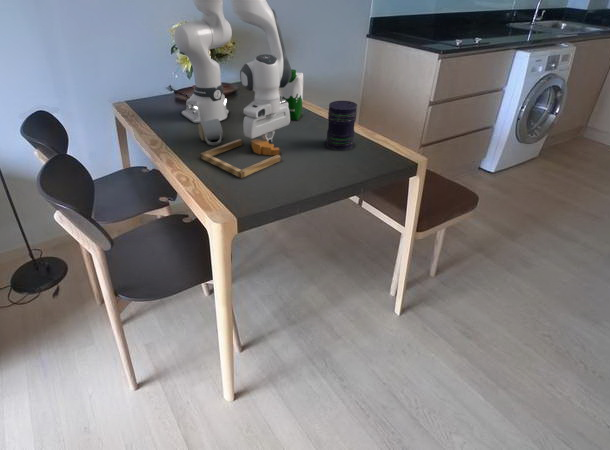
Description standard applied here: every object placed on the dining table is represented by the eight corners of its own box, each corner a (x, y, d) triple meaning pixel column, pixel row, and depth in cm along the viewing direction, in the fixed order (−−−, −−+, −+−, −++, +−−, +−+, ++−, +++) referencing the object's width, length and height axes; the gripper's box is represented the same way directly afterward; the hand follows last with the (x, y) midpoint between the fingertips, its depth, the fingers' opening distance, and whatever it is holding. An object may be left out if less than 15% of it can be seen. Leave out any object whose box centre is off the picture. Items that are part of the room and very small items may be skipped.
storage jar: (336, 152, 148) (340, 111, 139) (320, 143, 155) (323, 103, 147) (359, 146, 151) (363, 106, 143) (342, 137, 158) (345, 98, 150)
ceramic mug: (198, 137, 163) (196, 119, 159) (218, 134, 165) (216, 115, 161) (205, 148, 155) (203, 128, 151) (226, 144, 157) (225, 125, 153)
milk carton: (279, 119, 178) (278, 71, 166) (284, 113, 185) (284, 66, 173) (298, 121, 175) (300, 72, 164) (303, 114, 182) (305, 67, 171)
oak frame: (201, 158, 147) (200, 153, 146) (239, 144, 157) (239, 138, 156) (241, 178, 133) (240, 172, 132) (280, 161, 143) (280, 155, 142)
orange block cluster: (244, 148, 153) (243, 138, 151) (255, 143, 157) (255, 134, 155) (270, 158, 145) (270, 149, 143) (282, 153, 148) (282, 144, 146)
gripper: (281, 96, 151) (281, 133, 159) (239, 110, 140) (241, 148, 148) (294, 100, 147) (293, 137, 155) (252, 114, 136) (253, 153, 144)
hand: (268, 143), depth 151 cm, fingers closed
